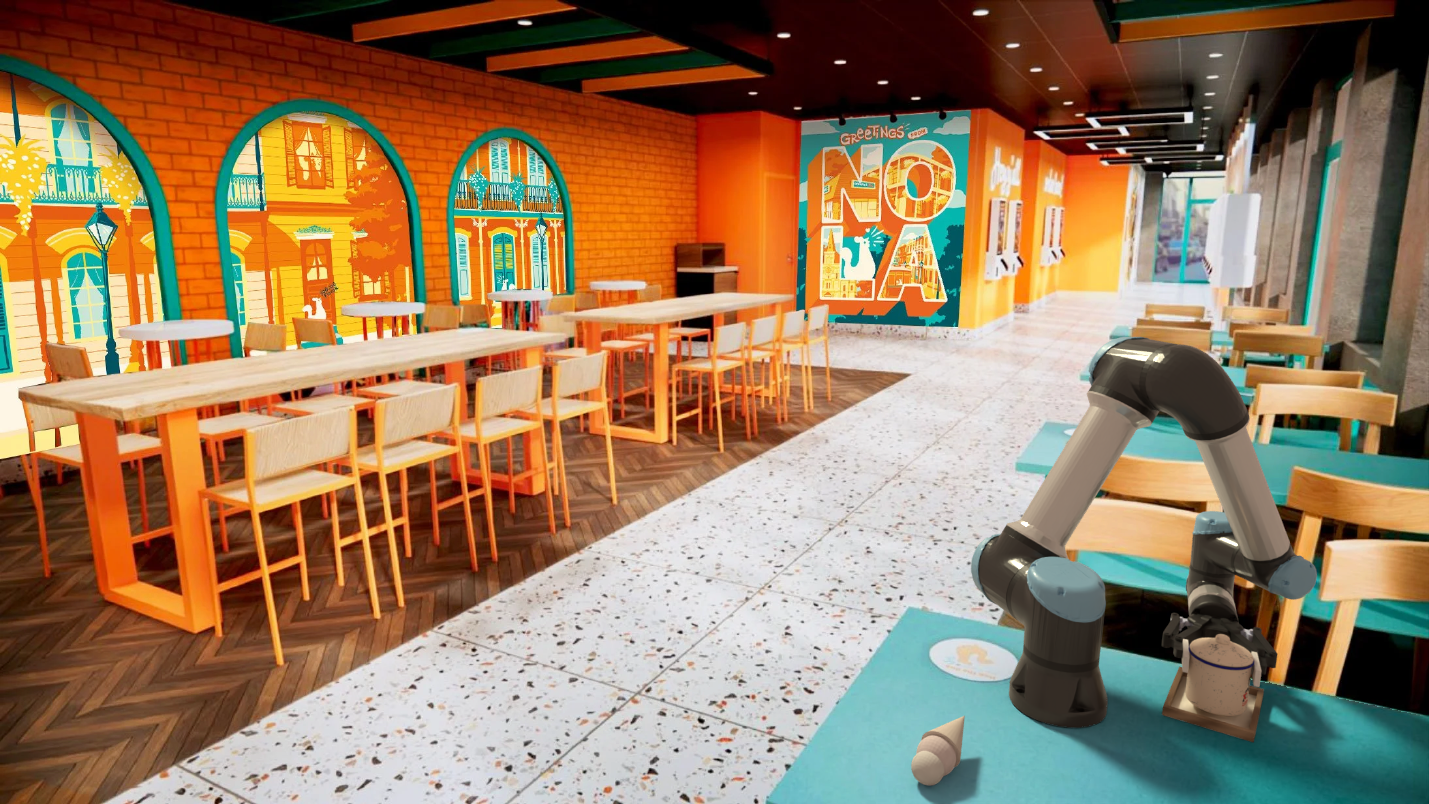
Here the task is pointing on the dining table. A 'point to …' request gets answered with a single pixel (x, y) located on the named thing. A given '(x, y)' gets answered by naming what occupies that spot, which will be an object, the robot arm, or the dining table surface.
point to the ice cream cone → (938, 752)
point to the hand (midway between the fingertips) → (1221, 671)
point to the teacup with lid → (1219, 675)
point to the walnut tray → (1229, 725)
